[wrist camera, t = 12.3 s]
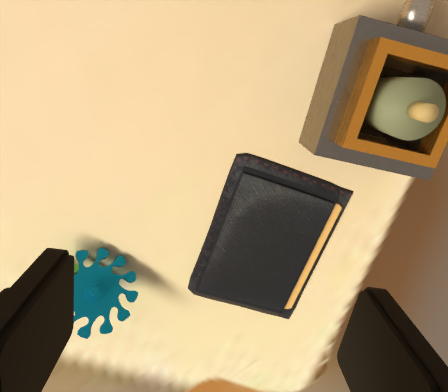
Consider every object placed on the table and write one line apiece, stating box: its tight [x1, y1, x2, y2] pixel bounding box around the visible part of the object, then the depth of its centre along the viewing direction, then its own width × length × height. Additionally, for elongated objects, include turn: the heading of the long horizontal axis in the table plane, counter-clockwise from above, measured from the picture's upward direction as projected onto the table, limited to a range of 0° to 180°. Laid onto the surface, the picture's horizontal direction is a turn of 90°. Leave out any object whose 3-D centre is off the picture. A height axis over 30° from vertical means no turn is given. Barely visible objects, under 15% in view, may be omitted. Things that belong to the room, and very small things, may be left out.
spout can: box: [362, 76, 446, 140], centre depth 31 cm, size 5×5×11 cm
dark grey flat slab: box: [188, 153, 353, 319], centre depth 41 cm, size 20×2×15 cm
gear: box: [74, 248, 138, 339], centre depth 40 cm, size 11×6×10 cm
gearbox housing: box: [299, 0, 448, 181], centre depth 31 cm, size 16×12×8 cm
